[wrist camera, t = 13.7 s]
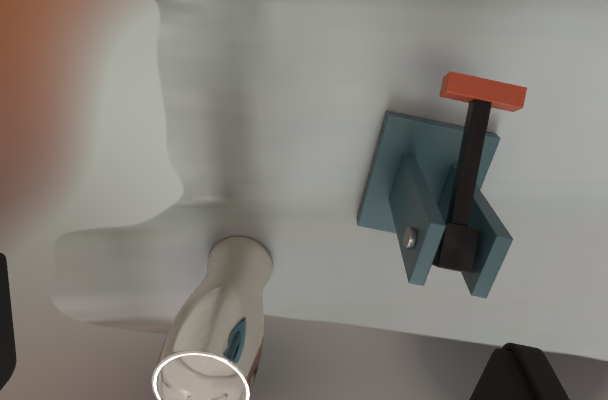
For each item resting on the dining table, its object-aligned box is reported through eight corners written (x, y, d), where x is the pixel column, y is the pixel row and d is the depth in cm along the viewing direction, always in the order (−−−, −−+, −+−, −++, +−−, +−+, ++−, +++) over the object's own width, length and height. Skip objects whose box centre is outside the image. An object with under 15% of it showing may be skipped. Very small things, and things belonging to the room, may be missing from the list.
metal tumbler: (279, 236, 43) (255, 355, 29) (274, 297, 46) (250, 431, 32) (204, 227, 43) (145, 343, 30) (204, 289, 46) (150, 420, 33)
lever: (440, 79, 31) (452, 68, 29) (513, 94, 31) (531, 85, 29) (405, 258, 31) (415, 262, 29) (478, 272, 31) (494, 278, 29)
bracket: (386, 110, 37) (410, 171, 26) (496, 133, 38) (567, 203, 26) (356, 219, 42) (365, 312, 30) (455, 238, 42) (500, 338, 31)
